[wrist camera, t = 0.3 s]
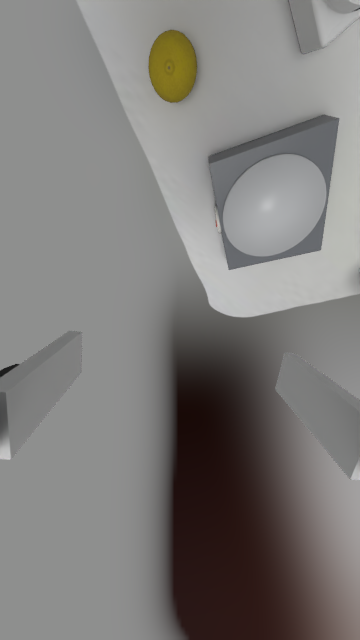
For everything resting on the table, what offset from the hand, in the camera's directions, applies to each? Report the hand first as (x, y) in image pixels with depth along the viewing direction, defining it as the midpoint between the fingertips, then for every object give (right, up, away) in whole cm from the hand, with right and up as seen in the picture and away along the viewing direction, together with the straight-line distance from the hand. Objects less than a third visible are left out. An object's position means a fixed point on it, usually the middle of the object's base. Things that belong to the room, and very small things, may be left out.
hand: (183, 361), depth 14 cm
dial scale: (+15, +23, +24) cm, 37 cm away
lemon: (-1, +35, +14) cm, 38 cm away
